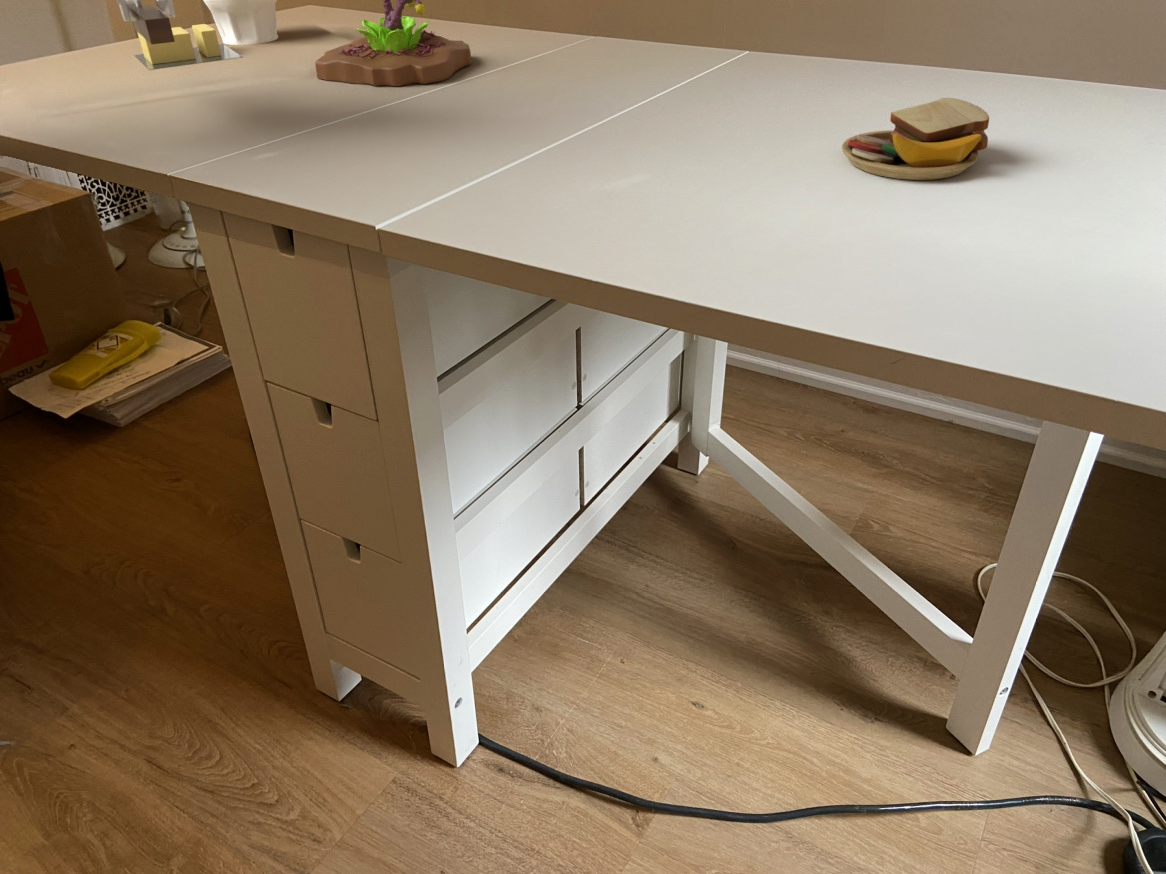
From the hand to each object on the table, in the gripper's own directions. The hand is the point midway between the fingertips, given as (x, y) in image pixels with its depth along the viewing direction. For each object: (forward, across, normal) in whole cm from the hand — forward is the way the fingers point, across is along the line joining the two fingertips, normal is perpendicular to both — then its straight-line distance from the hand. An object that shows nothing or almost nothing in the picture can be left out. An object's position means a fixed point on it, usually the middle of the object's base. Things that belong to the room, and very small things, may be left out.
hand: (150, 18), depth 96 cm
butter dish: (+11, +8, +33) cm, 35 cm away
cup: (+11, +19, +40) cm, 45 cm away
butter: (+10, +6, +33) cm, 35 cm away
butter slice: (+10, +11, +33) cm, 36 cm away
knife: (+2, 0, +5) cm, 5 cm away
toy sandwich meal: (+10, +56, -59) cm, 83 cm away
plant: (+11, +31, +10) cm, 34 cm away
